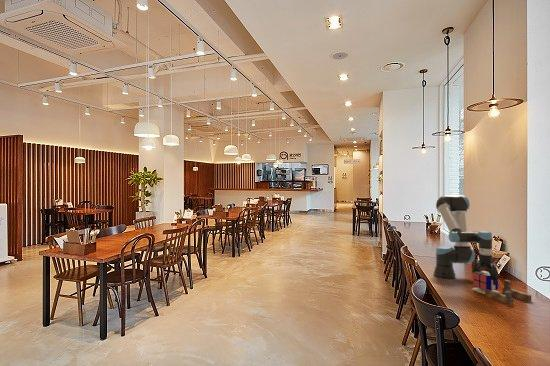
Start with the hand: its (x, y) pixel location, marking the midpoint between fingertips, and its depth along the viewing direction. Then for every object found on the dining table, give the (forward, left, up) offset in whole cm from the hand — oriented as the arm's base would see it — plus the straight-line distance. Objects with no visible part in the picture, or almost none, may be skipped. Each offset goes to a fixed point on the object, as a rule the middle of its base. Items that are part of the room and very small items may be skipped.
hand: (485, 286), depth 208 cm
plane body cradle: (+14, +1, -3) cm, 14 cm away
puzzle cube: (0, 0, -1) cm, 1 cm away
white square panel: (0, 0, -3) cm, 3 cm away
